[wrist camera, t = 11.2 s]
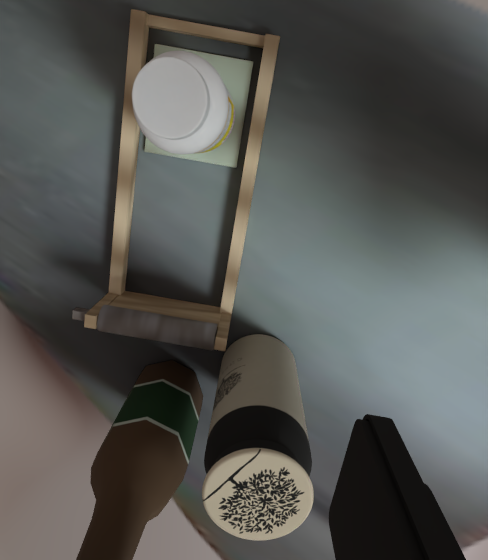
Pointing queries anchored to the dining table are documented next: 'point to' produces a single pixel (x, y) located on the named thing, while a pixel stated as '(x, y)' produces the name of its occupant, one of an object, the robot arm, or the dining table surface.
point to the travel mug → (258, 443)
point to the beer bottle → (142, 459)
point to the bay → (236, 76)
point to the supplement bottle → (182, 103)
